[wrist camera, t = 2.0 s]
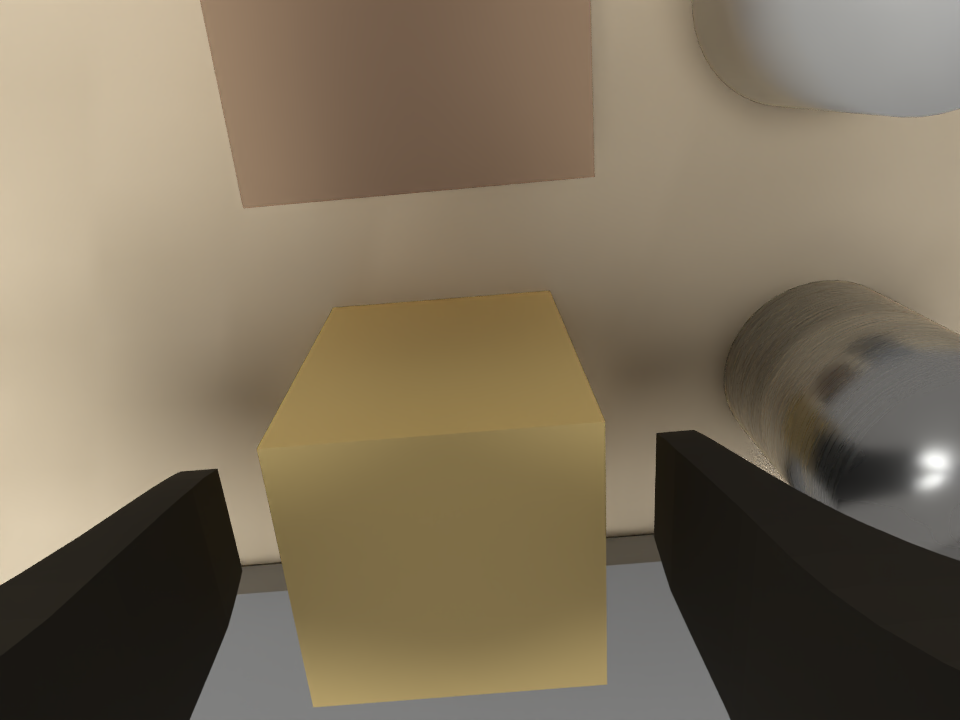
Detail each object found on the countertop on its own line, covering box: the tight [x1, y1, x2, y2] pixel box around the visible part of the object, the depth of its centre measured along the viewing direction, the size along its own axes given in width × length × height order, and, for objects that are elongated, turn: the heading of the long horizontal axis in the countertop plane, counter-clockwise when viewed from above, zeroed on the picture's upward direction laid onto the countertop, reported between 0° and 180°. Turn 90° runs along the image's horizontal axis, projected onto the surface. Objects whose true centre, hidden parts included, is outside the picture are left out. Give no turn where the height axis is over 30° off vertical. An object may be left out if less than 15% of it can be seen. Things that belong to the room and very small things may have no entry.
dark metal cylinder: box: [724, 280, 960, 561], centre depth 13 cm, size 4×4×5 cm
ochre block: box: [257, 291, 607, 707], centre depth 13 cm, size 4×4×6 cm
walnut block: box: [200, 0, 595, 208], centre depth 11 cm, size 5×5×4 cm
